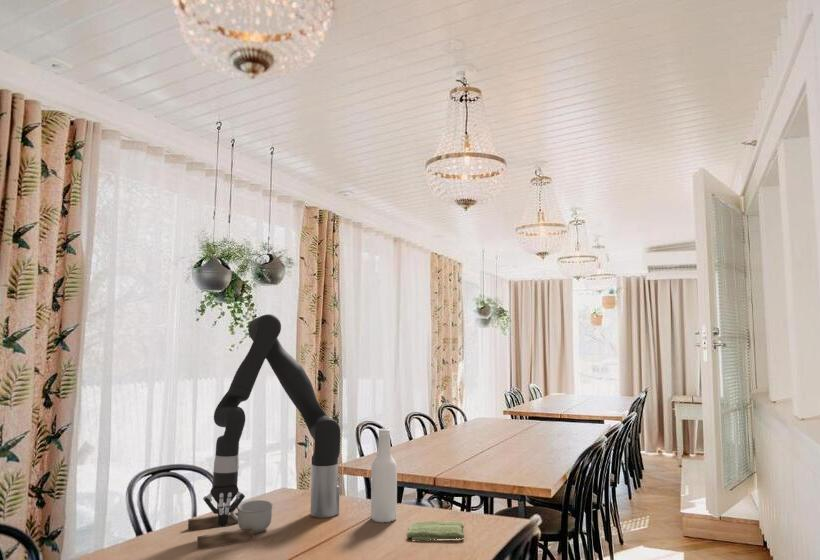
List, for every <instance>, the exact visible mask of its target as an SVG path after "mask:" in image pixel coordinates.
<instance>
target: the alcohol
mask: <svg viewBox="0 0 820 560" xmlns="http://www.w3.org/2000/svg"><path fill="white" fill-rule="evenodd" d="M377 441H378V442H377V443H378V444H377V445H378V446H377V455H376V457H375V458H374V459H373V461H372V464H371V469H370V470H371V472H370V473H371V474H370V475H371V476H370V477H371V479H370V480H371V482H370V484H371V485H370V489H371V490H370V519H372V521H373V522H375V523H379V522H380V523H382V524H385V523H386V522H387V523H392V522H395V520H396V519H397V517H398V515H397V514H398V513H397V511H398V465H397V462H396V460H395V459H394V458H393V455H392V448H391V447H392V446H391V429H390V428H386V427H385V428H379V429H378V440H377ZM391 521H392V522H391ZM384 522H385V523H384ZM387 523H386V524H387Z"/></svg>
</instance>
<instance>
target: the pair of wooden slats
mask: <svg viewBox="0 0 820 560" xmlns="http://www.w3.org/2000/svg"><path fill="white" fill-rule="evenodd" d="M234 513H235V514H236V515H237V516H238V512H234ZM187 520H188V522H187V530H188V531H194V530H200V529H201V530H202V529H208V528H213V527H220V526H219V525H218V523H217V522H218V514H216V515H209V516H203V517H195V518H189V519H187ZM233 523H235V524H238V522H237V520H235V519H234V518H233V517H232V516H231V514H230V513H229V514H228V523H227V524H229V525H233ZM196 540H197V541H196V548H197V549H204V548H205V549H206V548H212V547H218V546H223V544H224V545H230V544H235V542H236V543H240V542H241V543H242V542H248V541H253V540H254V533H253V528H249V529H243V530H242V529H238V530H232V531H225V532H224V531H223V532H219V533H218V532H217V533H212V534H205V535H199V536H197V539H196ZM229 543H230V544H229Z"/></svg>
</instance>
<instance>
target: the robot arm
mask: <svg viewBox="0 0 820 560" xmlns="http://www.w3.org/2000/svg"><path fill="white" fill-rule="evenodd" d="M247 328H248V330H247V331H248V335H249V337H250V339H251V340H252V343H251V346H250V348H249V350H248V352H247V353H246V355H245V357H244V359H243V360H242V361H241V363H240V365H239V366H238V368H237V370H236V371H235V373H234V376H233V378H232V380H231V383H230V386H229V387H228V390H227V392H226V393H225V394H224V396H223V397H222V398H221V400H220V401H219V403H218V404H217V406H216V408H215V410H214V413H213V421H214V423H215V424H216V426H218V427H220V428H224V429H225V430H224V432H223V435H220V436H219V437H217V439H216V442H215V443H216V444H215V455H214V456H215V457H214V460H213V472H212V473H213V474H212V485H211V486H212V487H211V489H210V492H209V494H207V495H205V496H203V498H202V500H203V501H204V502H205V504H206V505H207V506H208V508H209V509H210V510H211V512H212V513H213V514H214V515H215V514H216V515H218V522H217V523H218V525H219V526H218V527H219V528H225V527H226V526H228V525H227V523H228V514H230V512H233V511H234V512H235V510H237V506H238V505H240V504H242V501H244V498H246V497H245V494H244V493H243V492H241V491H240V490H239V487H238V481H239V479H238V478H239V468H240V467H239V464H240V462H239V449H240V440H241V437H242V434H243V431H244V427H245V423H246V413H245V411H244V409H243V408H242V407H241V406H239V405H240V404H241V403H242V402H246V401H247V400H248V399H249V398H250V397H251V396H250V395H251V394H252V391H253V389H254V386H255V383H256V381H257V378H258V376H259V374H260V371H261V369H262V366H263V364H264V362H265V360H266V361H267V362H268V364H269V366H270V368H271V370H272V371H273V373H274V375H275V376H276V378H277V380H278V382H279V384H280V385H281V386H282V389H283V390H284V392H285V393H286V396H288V397H289V400H290V401H291V402H292V404H293V405H294V406H295V407H296V409H297V411H299V413H300V415H301V417H302V419H303V421H304V422H305V425H306V427H307V429H308V432H309V434H310V436H311V438H312V439H313V440H314V448H313V449H314V451H313V454H312V455H311V469H310V470H311V474H310V475H311V479H310V480H311V482H310V483H311V484H310V516H312V517H314V518H320V519H322V518H323V519H325V518H330V517H334V516H337V515H340V494H341V493H340V487H341V486H340V485H339V484H338V478H339V477H338V475H339V473H338V472H339V471H338V469H339V462H338V461H339V457H340V451H341V426H340V424H339V422H338V421H336V420H335V419H333V418H331V417H329V416H328V414H327V413H326V412H325V411H324V409H323V408H322V406H321V405H320V403H319V402H318V399H317V396H316V393H315V389H314V387H313V384H312V382H311V380H310V378H309V375H307V373H306V371H305V370H304V368H303V366H302V365H301V364H300V362H298V360H296V359H295V358H294V357H293V356H292V355H291V353H290V354H289V353H288V352H287V350H286V349H285V348H284V347H283V346H282V344H281V342H280V341H279V338H278V337H279V335H280V333H281V331H282V323H281V321H280V320H279V318H278V317H277V316H276V315H274V314H270V313H269V314H268V313H267V314H264V315H263V314H262V315H261V316H258V317H256V318H254V319H252V320H251V321H250V322H249V324H248V327H247ZM234 498H235V499H234ZM213 500H214V501H215V502H216V505H217V508H216V507H215V505H214V504H213V503H212V501H213ZM231 502H232V503H231Z"/></svg>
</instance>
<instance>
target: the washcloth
mask: <svg viewBox="0 0 820 560" xmlns="http://www.w3.org/2000/svg"><path fill="white" fill-rule="evenodd" d="M463 528H465V527H464V524H463V522H461V521H460V520H451V521H446V520H445V521H444V520H441V521H439V520H438V521H437V520H436V521H429V520H428V521H425V520H424V521H415V522H412V523H411V524H410V525H409V528H408V529H407V532H406V537H408V538H411V541H412V540H430V539H431V540H434V539H435V540H437V539H456V538H457V539H459V538H460V539H462V538H464V539H465V533H464V529H463Z"/></svg>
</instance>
